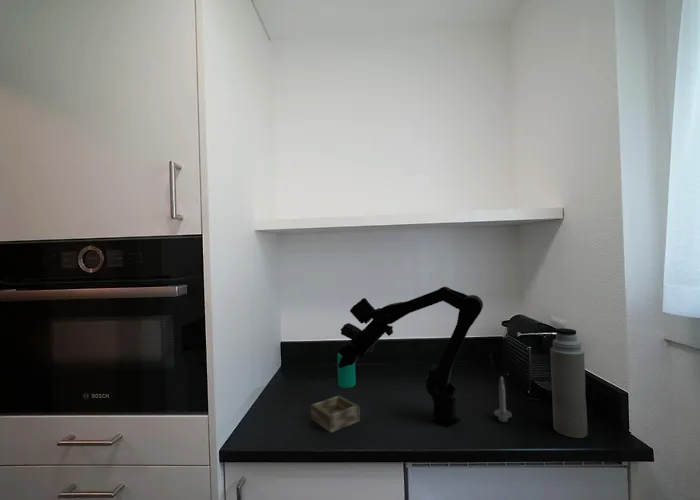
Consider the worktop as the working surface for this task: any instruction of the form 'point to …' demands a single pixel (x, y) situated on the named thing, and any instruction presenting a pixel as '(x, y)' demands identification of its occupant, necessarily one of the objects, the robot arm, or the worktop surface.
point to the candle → (346, 374)
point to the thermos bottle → (568, 384)
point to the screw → (502, 404)
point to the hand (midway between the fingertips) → (342, 364)
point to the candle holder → (335, 413)
